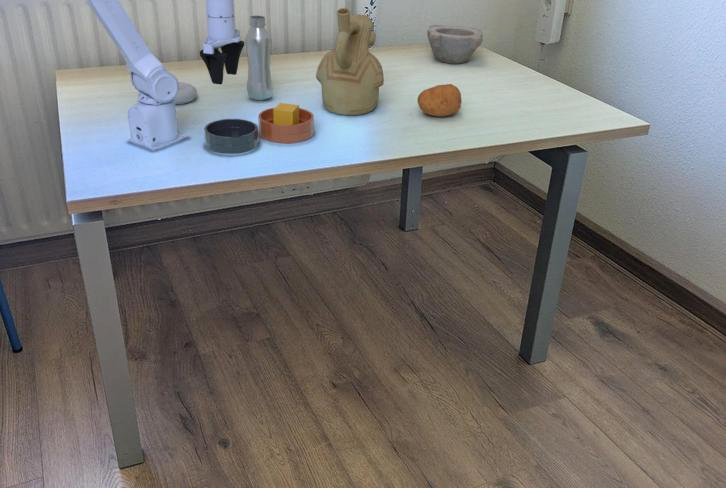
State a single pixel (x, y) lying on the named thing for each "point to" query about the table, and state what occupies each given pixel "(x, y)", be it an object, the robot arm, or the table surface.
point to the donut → (185, 93)
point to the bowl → (286, 127)
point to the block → (286, 114)
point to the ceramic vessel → (351, 68)
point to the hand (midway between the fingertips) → (224, 78)
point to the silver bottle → (258, 59)
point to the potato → (440, 100)
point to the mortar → (453, 42)
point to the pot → (231, 136)
